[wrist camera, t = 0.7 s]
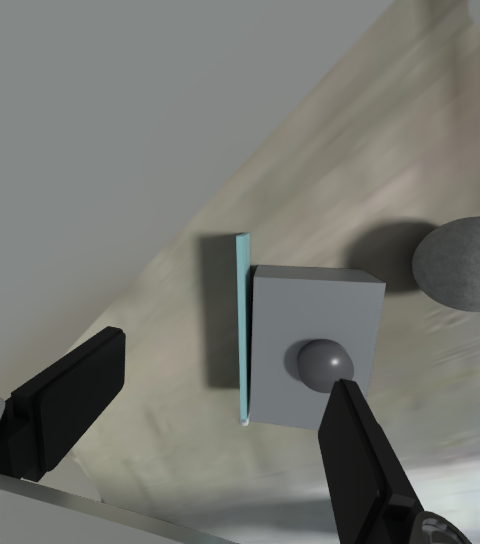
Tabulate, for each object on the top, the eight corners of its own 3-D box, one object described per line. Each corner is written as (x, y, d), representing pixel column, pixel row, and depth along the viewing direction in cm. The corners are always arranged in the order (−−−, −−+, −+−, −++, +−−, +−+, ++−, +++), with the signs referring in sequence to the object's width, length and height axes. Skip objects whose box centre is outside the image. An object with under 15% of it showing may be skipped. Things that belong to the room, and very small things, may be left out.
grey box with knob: (343, 394, 35) (365, 448, 27) (254, 384, 37) (248, 431, 29) (361, 269, 31) (393, 287, 22) (257, 265, 32) (252, 280, 24)
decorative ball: (460, 200, 27) (564, 189, 17) (497, 268, 28) (614, 293, 19) (380, 246, 30) (432, 259, 20) (417, 307, 31) (483, 347, 21)
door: (252, 390, 37) (248, 426, 31) (245, 389, 37) (239, 425, 31) (251, 232, 31) (245, 236, 25) (242, 232, 31) (234, 236, 25)
